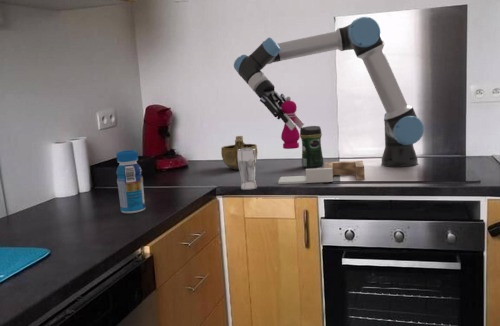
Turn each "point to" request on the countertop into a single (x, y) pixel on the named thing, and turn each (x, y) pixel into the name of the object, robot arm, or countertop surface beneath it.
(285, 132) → the pepper mill
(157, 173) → the countertop surface
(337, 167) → the block
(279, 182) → the plate
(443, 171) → the countertop surface
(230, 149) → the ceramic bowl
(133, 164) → the beverage bottle
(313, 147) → the coffee jar
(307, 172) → the white rectangular block
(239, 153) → the beer glass
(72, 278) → the countertop surface
